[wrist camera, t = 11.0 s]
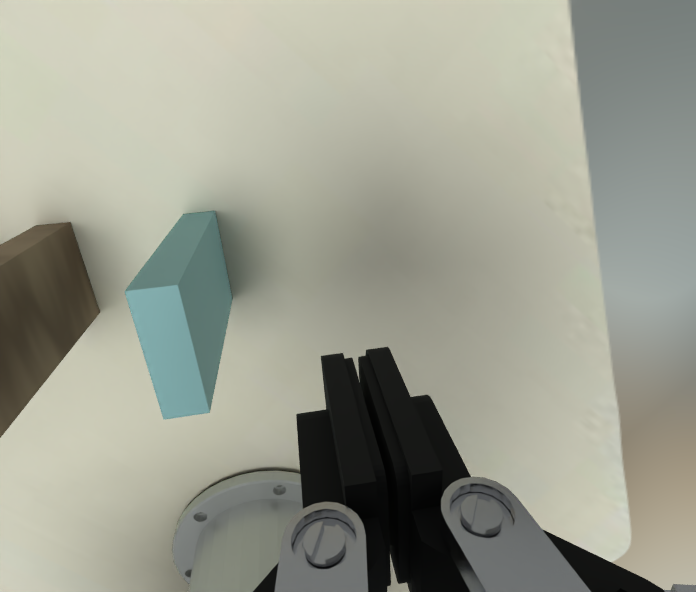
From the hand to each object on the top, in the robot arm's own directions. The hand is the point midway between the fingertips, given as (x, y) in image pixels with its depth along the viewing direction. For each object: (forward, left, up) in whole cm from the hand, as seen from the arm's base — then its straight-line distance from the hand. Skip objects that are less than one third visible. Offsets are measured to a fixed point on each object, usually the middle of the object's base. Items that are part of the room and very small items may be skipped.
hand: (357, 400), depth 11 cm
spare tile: (-2, +5, -15) cm, 16 cm away
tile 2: (-4, +12, -15) cm, 19 cm away
